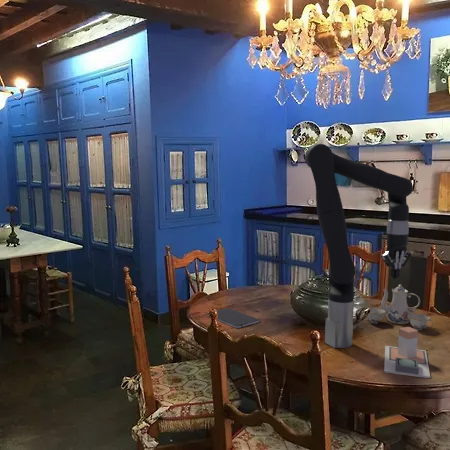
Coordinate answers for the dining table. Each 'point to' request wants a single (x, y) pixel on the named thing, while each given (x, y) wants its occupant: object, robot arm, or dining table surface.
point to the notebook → (235, 318)
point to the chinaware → (399, 310)
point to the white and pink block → (407, 342)
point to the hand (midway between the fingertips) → (395, 278)
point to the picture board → (394, 367)
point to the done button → (407, 362)
